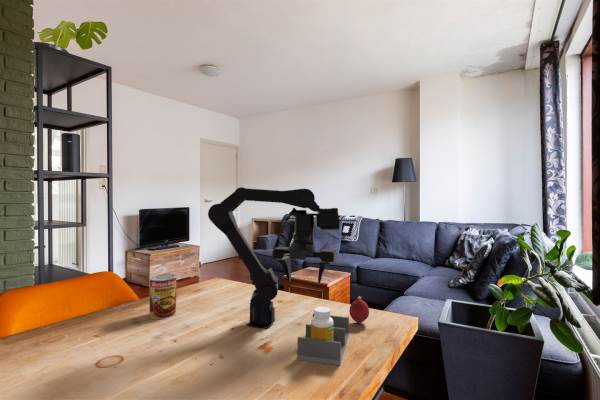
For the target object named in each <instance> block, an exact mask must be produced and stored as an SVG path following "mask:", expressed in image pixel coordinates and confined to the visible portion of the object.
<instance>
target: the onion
mask: <svg viewBox="0 0 600 400" xmlns="http://www.w3.org/2000/svg"><path fill="white" fill-rule="evenodd" d="M362 299H363V298H362V296H357V298H356V299H355V300H353V302H351V303H350V305H349V312H348V313H349V316H350V318H351V319H352V320H353V321H354V322H355V323H356V324H359V325H360V324H362V323H364V322H365V321H366V320H367V319H368V318H369V316H370V310H369V309H370V308H369V306H368V304H367V303H366V302H365V301H364V300H362Z"/></svg>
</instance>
